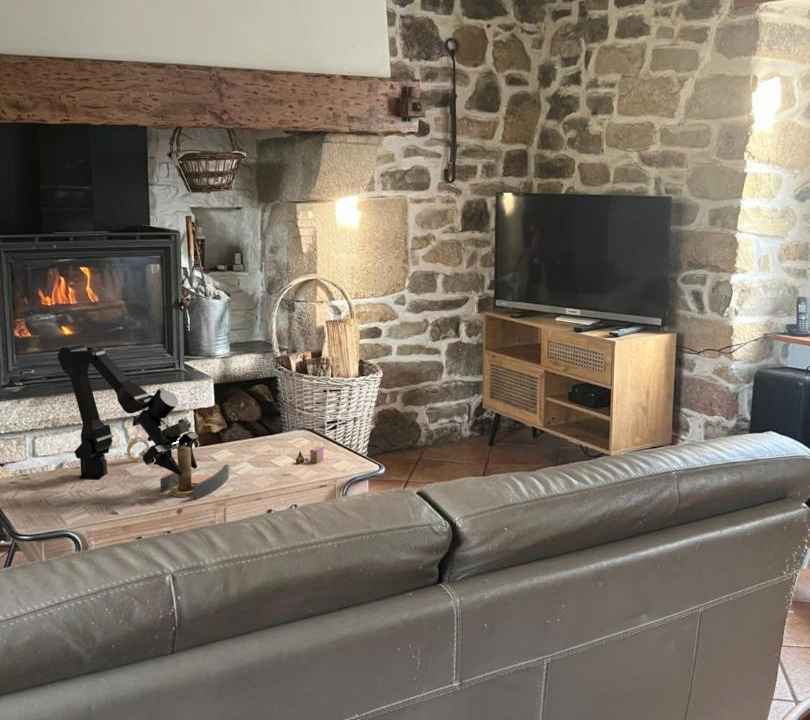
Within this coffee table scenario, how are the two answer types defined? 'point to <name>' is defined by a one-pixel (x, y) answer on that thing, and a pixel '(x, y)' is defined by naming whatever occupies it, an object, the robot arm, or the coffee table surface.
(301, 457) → the perfume bottle
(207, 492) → the gray curved bar
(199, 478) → the tile
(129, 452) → the ring
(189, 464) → the brown cylinder
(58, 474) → the coffee table surface
